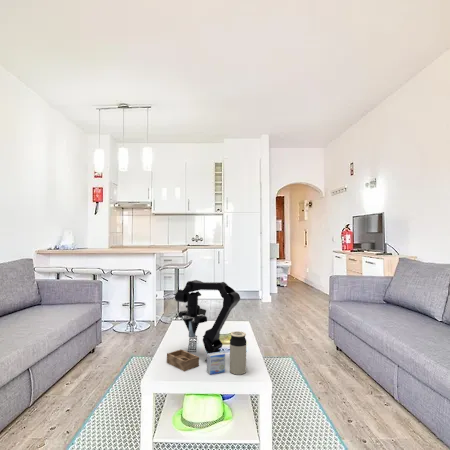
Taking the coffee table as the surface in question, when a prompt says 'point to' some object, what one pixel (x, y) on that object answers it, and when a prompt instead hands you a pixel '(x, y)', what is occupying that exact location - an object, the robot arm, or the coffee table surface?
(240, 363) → the travel mug
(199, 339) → the coffee table surface
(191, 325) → the peg
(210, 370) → the medicine box
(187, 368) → the caddy
